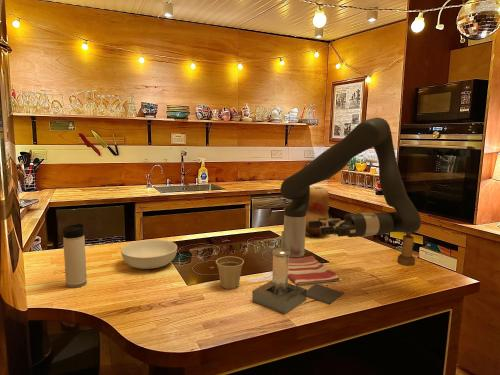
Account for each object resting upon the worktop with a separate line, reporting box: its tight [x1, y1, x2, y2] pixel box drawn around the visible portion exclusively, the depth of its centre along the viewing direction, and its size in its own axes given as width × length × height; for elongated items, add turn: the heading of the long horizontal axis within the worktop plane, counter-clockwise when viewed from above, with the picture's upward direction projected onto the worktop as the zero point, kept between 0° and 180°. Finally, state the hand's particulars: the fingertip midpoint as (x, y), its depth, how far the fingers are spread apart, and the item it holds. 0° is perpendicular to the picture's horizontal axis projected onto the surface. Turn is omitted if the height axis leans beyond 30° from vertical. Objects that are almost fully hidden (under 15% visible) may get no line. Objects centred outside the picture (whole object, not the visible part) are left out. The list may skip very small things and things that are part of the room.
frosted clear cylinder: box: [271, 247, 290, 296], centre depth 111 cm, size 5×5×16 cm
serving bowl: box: [120, 239, 178, 270], centre depth 139 cm, size 21×21×7 cm
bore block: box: [251, 280, 308, 315], centre depth 112 cm, size 12×12×4 cm
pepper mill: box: [396, 232, 416, 266], centre depth 146 cm, size 7×6×18 cm
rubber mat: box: [306, 284, 344, 305], centre depth 117 cm, size 10×10×1 cm
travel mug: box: [62, 223, 88, 289], centre depth 119 cm, size 6×7×20 cm
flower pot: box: [215, 255, 245, 290], centre depth 122 cm, size 9×9×9 cm
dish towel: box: [288, 255, 340, 287], centre depth 136 cm, size 17×23×3 cm
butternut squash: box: [305, 185, 330, 237], centre depth 182 cm, size 14×13×25 cm
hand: (314, 227), depth 112 cm, fingers open, 8 cm apart
